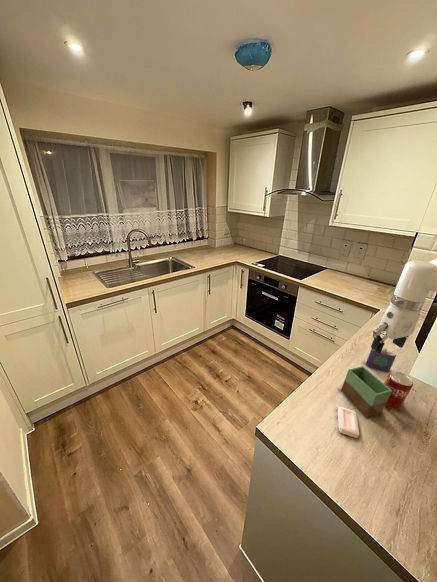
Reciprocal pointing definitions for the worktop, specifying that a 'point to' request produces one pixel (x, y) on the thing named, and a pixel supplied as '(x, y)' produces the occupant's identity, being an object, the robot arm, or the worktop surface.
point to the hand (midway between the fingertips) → (386, 347)
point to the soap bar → (348, 422)
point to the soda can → (398, 389)
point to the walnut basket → (361, 401)
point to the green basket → (368, 386)
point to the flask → (381, 360)
